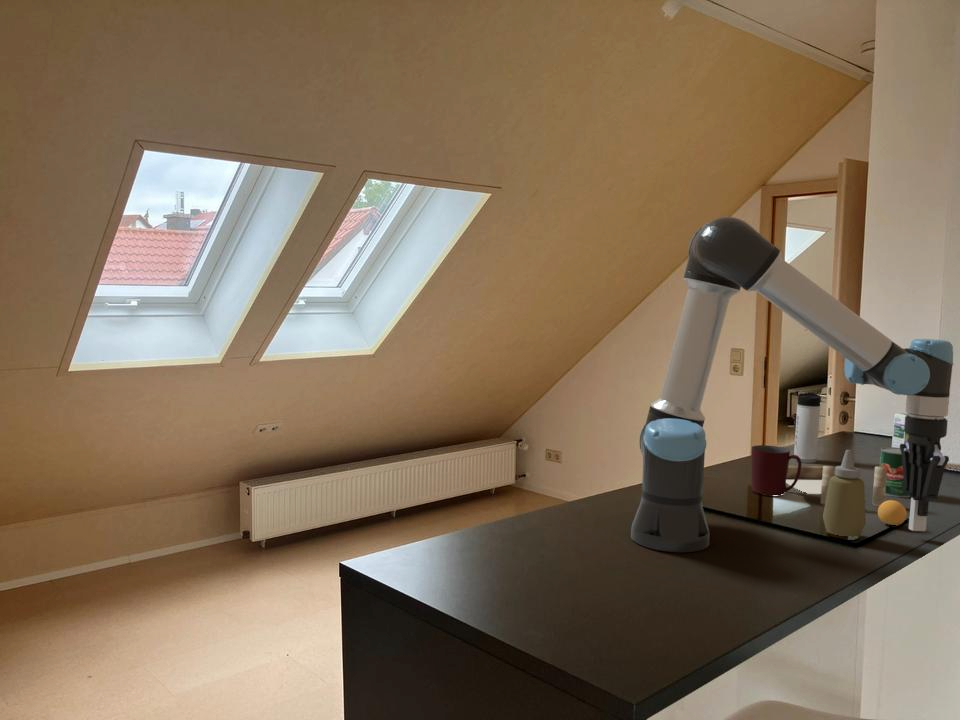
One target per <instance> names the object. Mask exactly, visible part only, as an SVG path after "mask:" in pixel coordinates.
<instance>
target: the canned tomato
mask: <svg viewBox="0 0 960 720" xmlns="http://www.w3.org/2000/svg"><path fill="white" fill-rule="evenodd" d="M879 467H885V468H887V477H886V490H885V496H886V497H887V496H889V497H895V498H911V497H910V496H909V492H908V491H905V490H904V482H903V465H902V454H901V450H900V448H896V447H892V446H888V447H886V446H885V447H881V448H880V458H879Z"/></svg>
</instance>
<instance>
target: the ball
mask: <svg viewBox="0 0 960 720" xmlns="http://www.w3.org/2000/svg"><path fill="white" fill-rule="evenodd" d="M877 515H878V518H879V519H880V521H881V522H882V523H883V522H884V523H883V524H885V523H888V524H893V525H896V526H900V525H902V524H903V523H904V522H905V520H906V519H907V510H906V507H905V506H904V505H903V504H902V503H901V502H899V501H897V500H893V499H889V500H885V502H883V503H882V504H881V505H880V506H878V509H877ZM896 526H895V527H896Z"/></svg>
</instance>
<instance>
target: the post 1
mask: <svg viewBox="0 0 960 720" xmlns="http://www.w3.org/2000/svg"><path fill="white" fill-rule="evenodd" d="M822 466H823V474H822V479H821V480H822V489H821V495H820V503H825V502H826V496H827V491H828V485H829V480H830V478H831V477H833V476H836V475H835V467H836V466H831V465H822Z"/></svg>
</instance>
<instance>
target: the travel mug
mask: <svg viewBox="0 0 960 720" xmlns="http://www.w3.org/2000/svg"><path fill="white" fill-rule="evenodd" d="M821 398H822V397H821V395H820V394H816V393H815V392H807V393H799V394H798V395H797V405H796V406H797V408H796V417H795V418H796V419H795V420H796V421H795V433H794V434H795V435H794V446H793V447H794V448H793V455H797V456H798V457H799V458H800V459H801V463H802V464H814V463H816V462H817V459H818V446H819V434H820V433H819V431H820V418H821V417H820V414H821ZM793 460H794V461H795V462H798V461H797V460H796V459H793Z"/></svg>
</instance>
